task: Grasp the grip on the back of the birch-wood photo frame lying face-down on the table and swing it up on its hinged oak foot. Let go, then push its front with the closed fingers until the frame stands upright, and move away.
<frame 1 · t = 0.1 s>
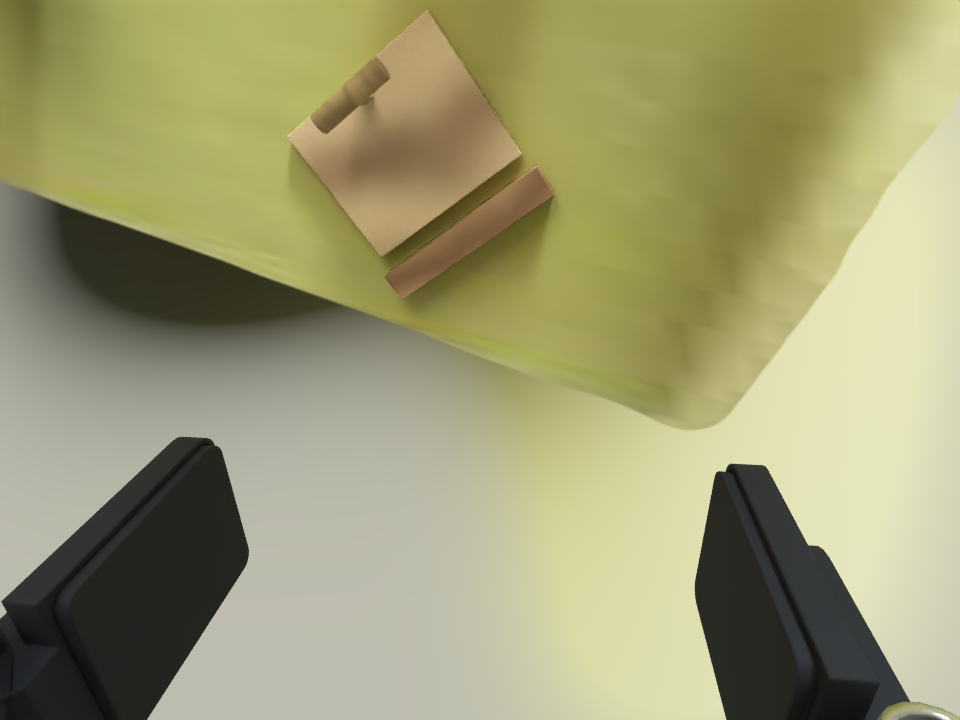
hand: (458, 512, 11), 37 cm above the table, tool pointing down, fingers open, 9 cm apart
photo frame: (396, 148, 42), point 3 cm above the table, hinge at 0.0°
frame foot: (453, 212, 46), on the table
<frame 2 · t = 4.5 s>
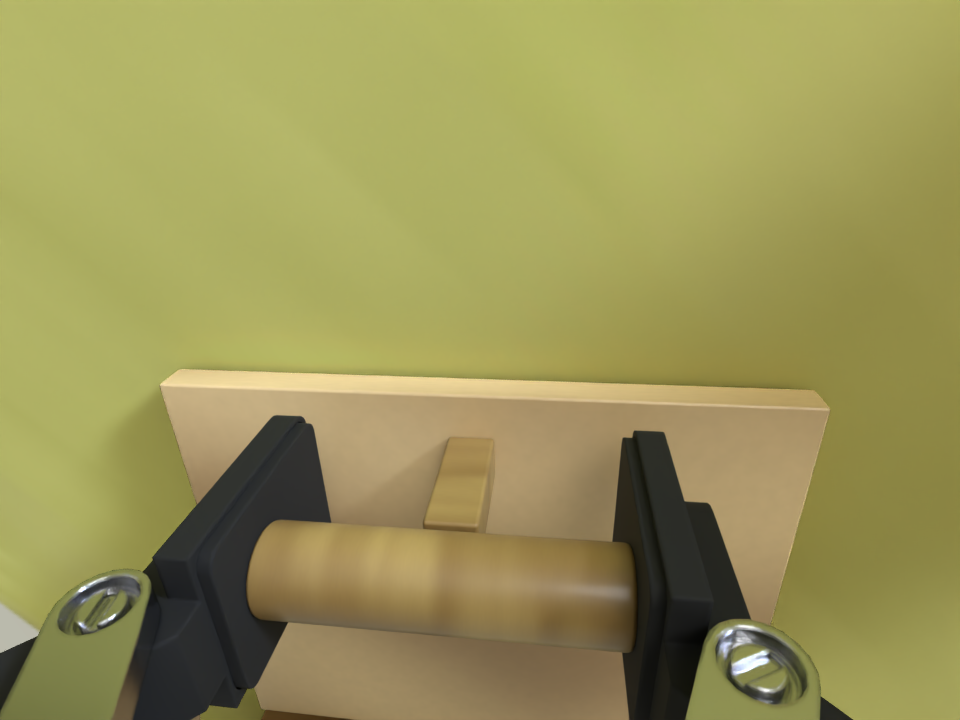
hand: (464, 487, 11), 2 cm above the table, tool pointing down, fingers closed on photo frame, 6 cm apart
photo frame: (468, 657, 13), point 3 cm above the table, hinge at 0.0°, touching gripper
frame foot: (488, 715, 18), on the table
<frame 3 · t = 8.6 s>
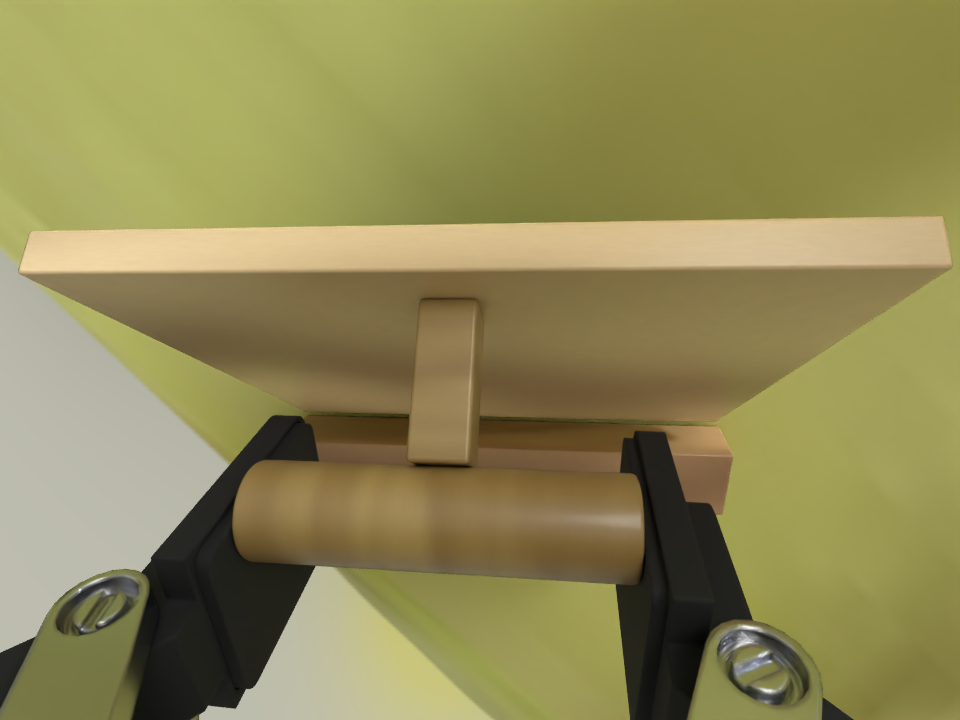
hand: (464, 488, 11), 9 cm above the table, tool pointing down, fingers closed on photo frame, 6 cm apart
photo frame: (477, 443, 13), point 7 cm above the table, hinge at 47.9°, touching gripper
frame foot: (503, 401, 20), on the table
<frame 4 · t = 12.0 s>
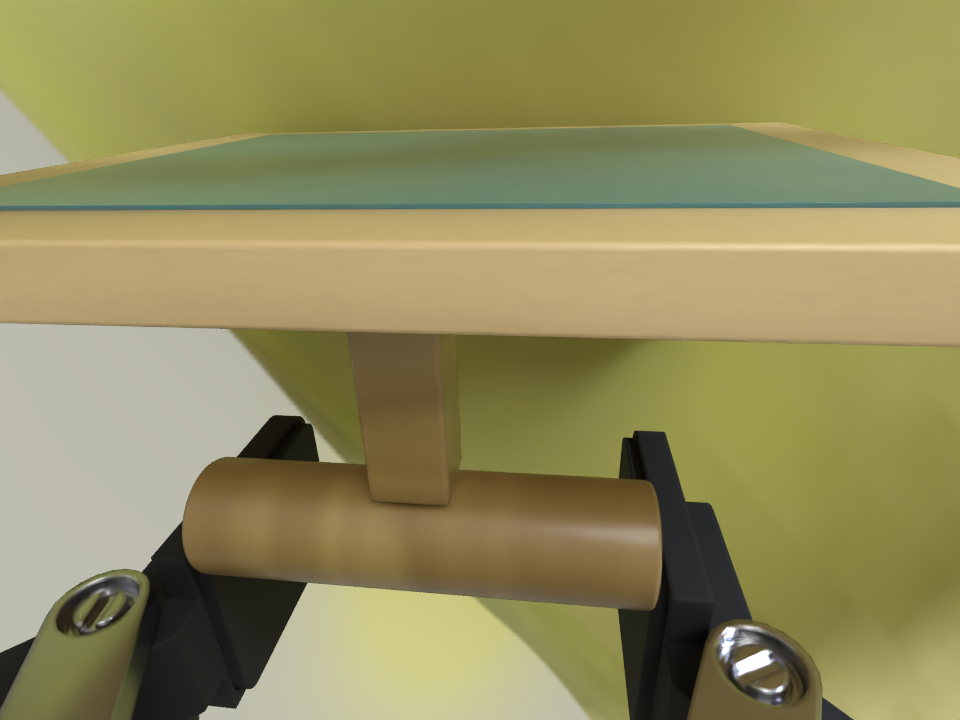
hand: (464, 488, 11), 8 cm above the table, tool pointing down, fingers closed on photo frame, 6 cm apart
photo frame: (465, 296, 11), point 7 cm above the table, hinge at 89.8°, touching gripper
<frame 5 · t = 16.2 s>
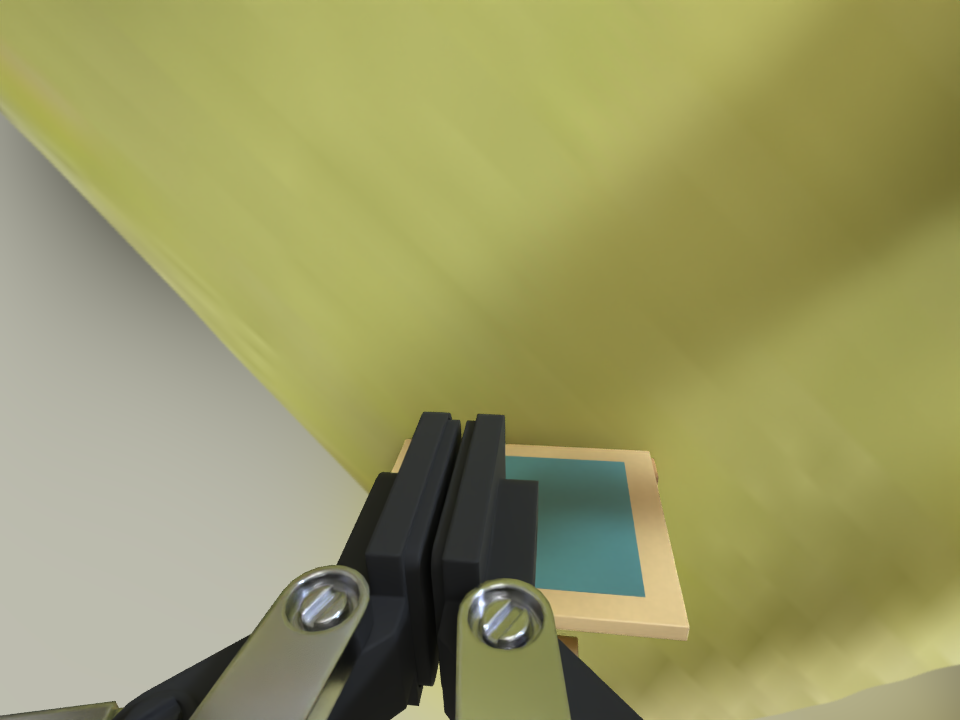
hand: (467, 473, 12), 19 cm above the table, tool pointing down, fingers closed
photo frame: (516, 551, 29), point 7 cm above the table, hinge at 90.1°
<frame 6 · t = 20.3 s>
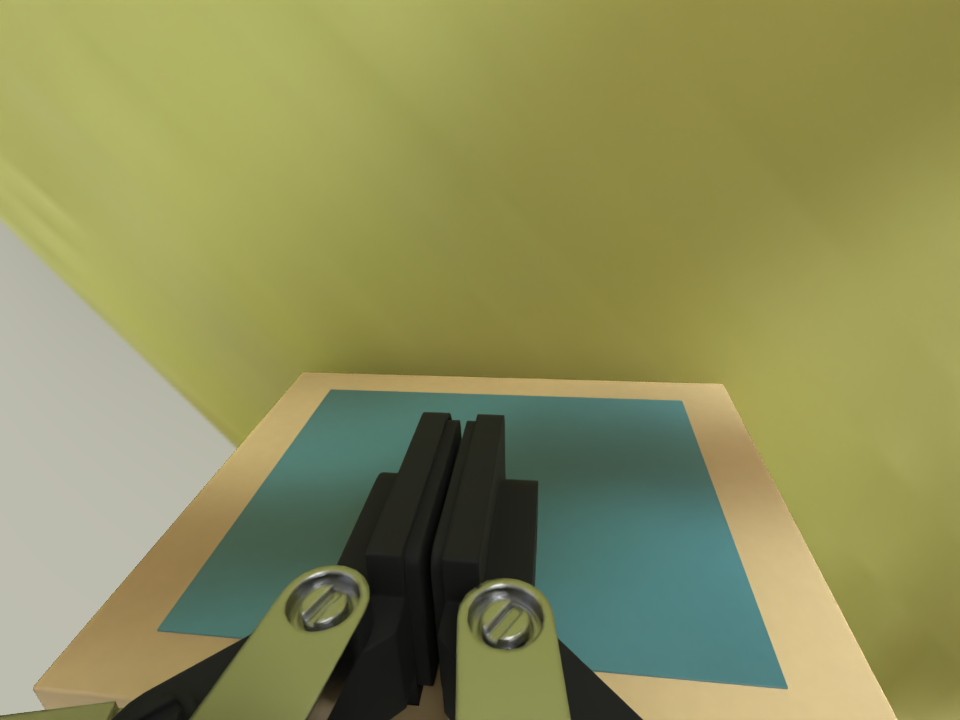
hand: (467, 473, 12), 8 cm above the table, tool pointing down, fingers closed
photo frame: (485, 565, 15), point 7 cm above the table, hinge at 90.5°, touching gripper
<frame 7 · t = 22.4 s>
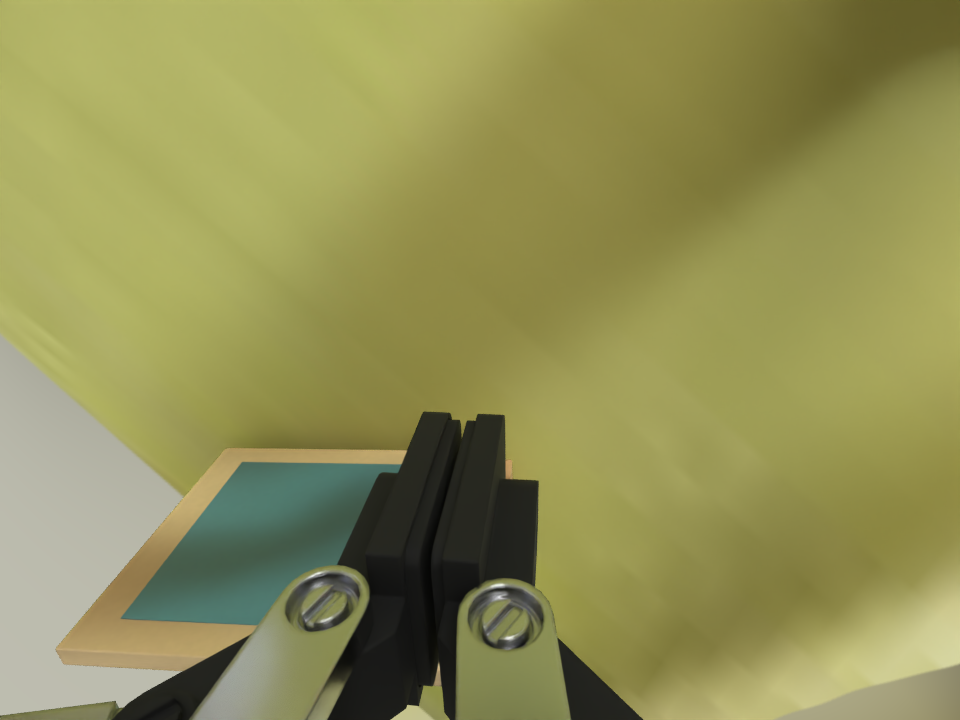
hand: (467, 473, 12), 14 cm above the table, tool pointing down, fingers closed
photo frame: (329, 576, 24), point 7 cm above the table, hinge at 91.7°
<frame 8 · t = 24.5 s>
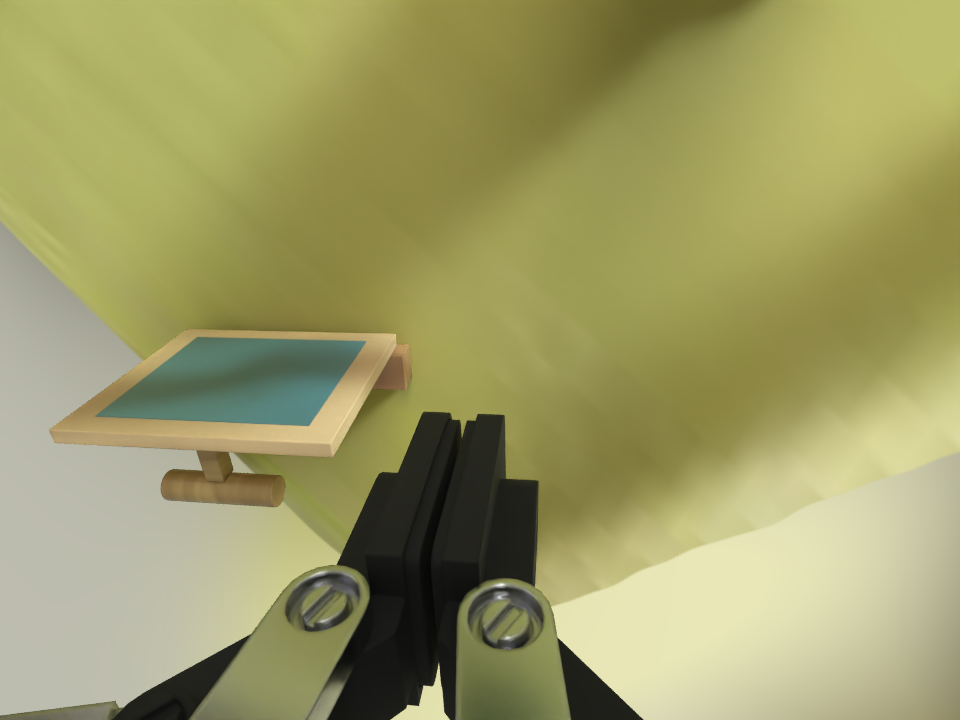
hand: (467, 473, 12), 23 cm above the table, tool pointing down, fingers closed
photo frame: (255, 413, 32), point 7 cm above the table, hinge at 91.7°
frame foot: (296, 330, 37), on the table
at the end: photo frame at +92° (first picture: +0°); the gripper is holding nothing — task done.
